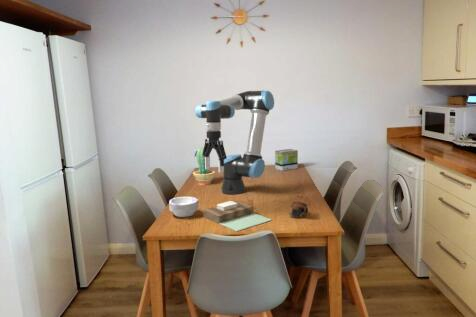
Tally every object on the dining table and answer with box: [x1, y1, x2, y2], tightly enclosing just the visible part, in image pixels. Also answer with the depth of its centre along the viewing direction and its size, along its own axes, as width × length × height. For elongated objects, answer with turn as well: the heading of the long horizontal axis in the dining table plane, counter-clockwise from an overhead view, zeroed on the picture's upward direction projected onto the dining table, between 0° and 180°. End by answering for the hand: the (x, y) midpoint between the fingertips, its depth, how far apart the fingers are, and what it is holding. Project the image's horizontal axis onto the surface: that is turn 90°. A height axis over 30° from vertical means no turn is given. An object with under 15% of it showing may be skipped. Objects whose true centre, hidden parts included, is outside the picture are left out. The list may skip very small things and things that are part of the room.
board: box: [202, 200, 255, 225], centre depth 205 cm, size 22×14×4 cm, turn 127°
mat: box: [218, 212, 273, 232], centre depth 195 cm, size 22×14×1 cm, turn 127°
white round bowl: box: [168, 196, 199, 218], centre depth 210 cm, size 15×15×8 cm
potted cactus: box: [192, 146, 216, 186], centre depth 272 cm, size 15×15×25 cm
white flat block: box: [216, 200, 238, 211], centre depth 206 cm, size 9×6×2 cm, turn 127°
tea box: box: [274, 148, 299, 172], centre depth 309 cm, size 15×10×15 cm, turn 119°
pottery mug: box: [289, 201, 309, 219], centre depth 200 cm, size 12×10×8 cm
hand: (214, 170), depth 211 cm, fingers open, 13 cm apart
